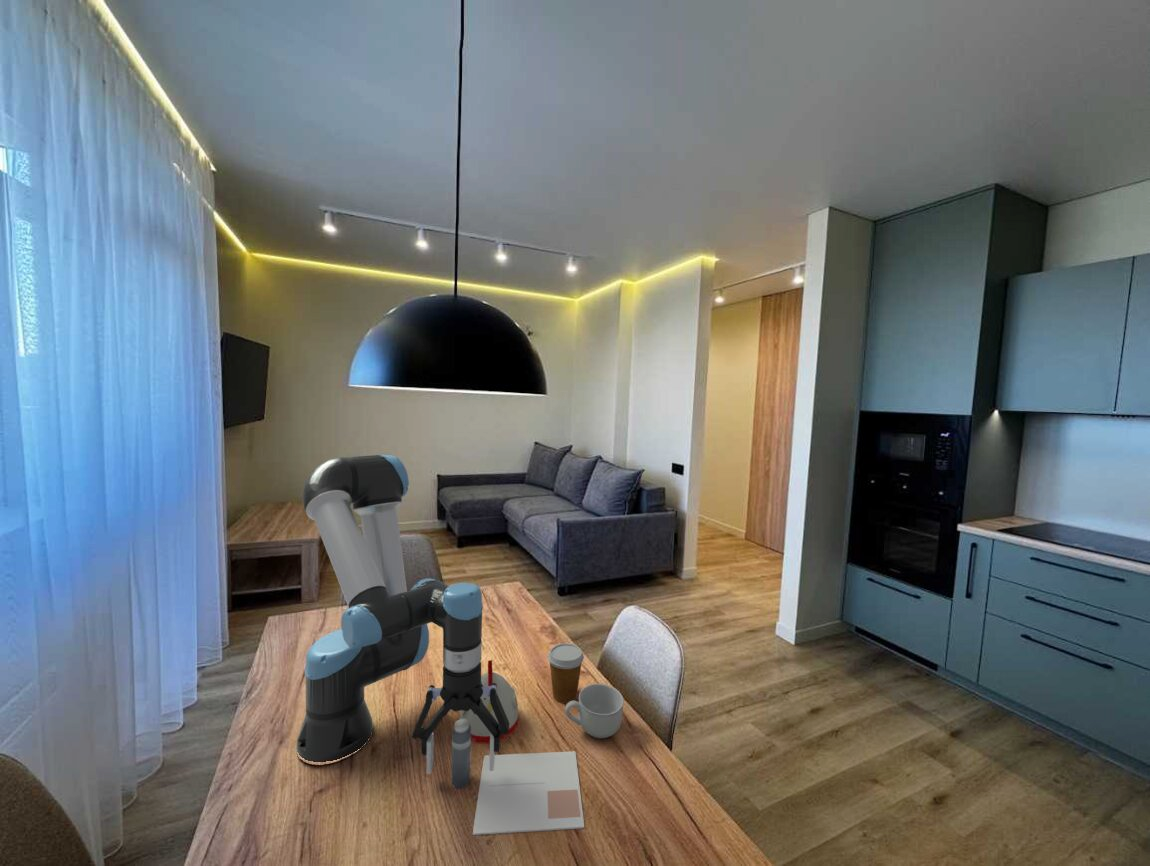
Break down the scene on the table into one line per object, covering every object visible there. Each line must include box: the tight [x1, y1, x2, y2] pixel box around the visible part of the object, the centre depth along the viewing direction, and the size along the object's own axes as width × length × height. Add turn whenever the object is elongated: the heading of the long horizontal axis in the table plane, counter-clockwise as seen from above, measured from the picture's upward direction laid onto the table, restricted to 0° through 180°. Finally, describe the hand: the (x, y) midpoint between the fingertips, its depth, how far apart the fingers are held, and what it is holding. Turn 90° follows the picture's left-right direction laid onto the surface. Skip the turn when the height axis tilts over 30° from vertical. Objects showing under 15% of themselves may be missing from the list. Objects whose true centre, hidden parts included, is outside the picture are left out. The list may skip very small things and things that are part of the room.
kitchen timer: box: [459, 659, 519, 744], centre depth 107 cm, size 14×14×15 cm
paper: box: [472, 750, 585, 836], centre depth 89 cm, size 20×18×1 cm
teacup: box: [564, 683, 625, 739], centre depth 106 cm, size 14×11×8 cm
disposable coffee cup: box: [547, 642, 584, 704], centre depth 118 cm, size 10×10×12 cm
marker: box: [451, 718, 472, 789], centre depth 90 cm, size 4×4×12 cm
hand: (461, 767), depth 90 cm, fingers open, 12 cm apart
